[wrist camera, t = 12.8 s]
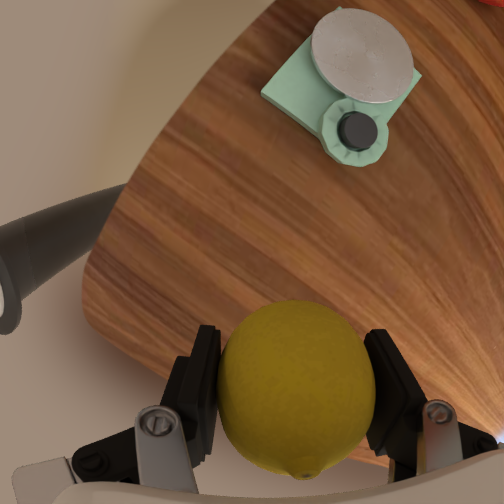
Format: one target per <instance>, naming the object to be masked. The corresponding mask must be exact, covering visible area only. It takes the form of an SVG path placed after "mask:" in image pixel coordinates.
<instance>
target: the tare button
mask: <svg viewBox="0 0 504 504" xmlns="http://www.w3.org/2000/svg"><path fill="white" fill-rule="evenodd" d="M339 134H340V137H341V139H342V141H343V142H344V143H345V144H346V145H348V146H349V147H352V148H367V147H370V146H371V145H373V144H374V143H375V141H376V139H377V136H378V129H377V125H376V123H375V122H374V120H373V119H372V118H371V117H370V116H368V115H366V114H364V113H355V114H352V115H349V116H347V117H345V118H344V119H343V120H342V121H341V123H340V126H339Z"/></svg>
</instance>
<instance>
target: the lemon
mask: <svg viewBox="0 0 504 504" xmlns="http://www.w3.org/2000/svg"><path fill="white" fill-rule="evenodd" d="M375 397H376V388H375V378H374V372H373V369H372V365H371V362H370V359H369V356H368V353H367V350H366V348H365V345H364V344H363V342H362V340H361V338H360V337H359V336H358V334H357V333H356V332H355V331H354V329H353V328H352V327H351V326H350V324H349V323H348V322H347V321H346V320H345V319H344V318H343V317H341V316H340V315H339V314H337V313H336V312H334V311H333V310H331V309H329V308H328V307H326V306H323V305H320V304H317V303H314V302H311V301H303V300H286V301H279V302H275V303H272V304H270V305H267V306H264V307H261V308H260V309H258V310H257V311H255V312H253V313H252V314H250V315H249V316H247V317H246V318H245V319H244V320H243V321H242V322H241V324H240V325H239V326H238V327H237V328H236V329H235V330H234V331H233V333H232V334H231V336H230V338H229V340H228V342H227V344H226V346H225V348H224V350H223V352H222V355H221V357H220V361H219V366H218V373H217V382H216V398H217V405H218V410H219V414H220V418H221V422H222V425H223V429H224V431H225V433H226V436H227V438H228V439H229V440H230V442H231V443H232V445H233V446H234V447H235V448H236V450H237V451H238V452H239V453H240V454H241V455H242V456H243V457H244V458H245V459H247V460H249V461H250V462H252V463H253V464H255V465H257V466H258V467H260V468H262V469H265V470H267V471H270V472H273V473H276V474H283V475H291V476H292V477H294V478H295V479H298V480H308V479H312V478H314V477H316V476H318V475H319V474H320V472H321V471H322V470H325V469H327V468H329V467H332V466H334V465H335V464H337V463H338V462H340V461H341V460H343V459H344V458H346V457H347V456H348V455H349V454H350V453H351V452H352V451H353V450H354V449H355V448H356V447H357V446H358V445H359V443H360V442H361V440H362V439H363V437H364V436H365V434H366V432H367V430H368V428H369V427H370V424H371V421H372V419H373V413H374V407H375Z"/></svg>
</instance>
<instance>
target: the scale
mask: <svg viewBox="0 0 504 504" xmlns="http://www.w3.org/2000/svg"><path fill="white" fill-rule="evenodd" d="M340 9H342V8H341V7H338V8H337V9H336V10H340ZM336 10H335V11H336ZM311 35H312V34H311ZM311 35H310V36H309V37H308V38H307V39H306V40H305V41H304V43H303V44H302V45H301V46H300V47H299V48H298V49H297V50H296V51H295V52H294V53H293V55H292V56H291V57H290V58H289V59H288V60H287V61H286V62H285V63H284V65H283V66H282V67H281V68H280V69H279V70H278V71H277V73H276V74H275V75H274V76H273V77H272V78H271V80H270V81H269V82H268V83H267V84H266V85H265V87H264V88H263V89H262V90H261V96H262V97H263V98H265V99H266V100H268V101H269V102H270V103H272V104H273V105H275V106H276V107H277V108H279V109H280V110H282V111H283V112H284V113H286V114H287V115H288V116H290V117H291V118H292V119H294V120H295V121H296V122H298V123H299V124H300V125H302V126H303V127H304V128H306V129H307V130H308V131H309V132H311V133H312V134H313V135H314V136H316V137H317V138H318V139H319V140H320V141H321V144H322V146H323V149H324V151H325V152H326V153H327V154H328V155H329V156H331V157H332V158H333V159H334V160H335V161H337V162H338V163H341V164H346V165H351V166H356V167H363V166H365V165H368V164H371V163H374V162H376V161H377V160H378V159H379V157H380V156H381V155H382V153H383V152H384V151H385V149H386V148H387V141H388V132H389V131H388V127H387V125H386V123H387V122H388V121H389V119H390V118H391V117H392V115H393V114H394V113H395V111H396V110H397V109H398V107H399V106H400V105H401V103H402V102H403V101H404V99H405V98H406V97H407V95H408V94H409V93H410V91H411V90H412V89H413V87H414V86H415V85H416V83H417V82H418V80H419V79H420V78H421V76H422V75H421V74H420V73H419V72H418V71H417V70H416V69H415V68H414V72H413V78H412V81H411V83H410V85H409V87H408V89H407V90H406V91H405V92H404V93H403V94H402V95H401V96H400V97H398V98H397V99H395V100H393V101H390V102H387V103H383V104H372V105H371V104H363V103H359V102H356V101H353V100H350V99H348V98H346V97H344V96H342V95H341V94H339V93H338V92H336V91H335V90H334V89H332V88H331V87H330V86H329V85H328V84H327V83H326V82H325V81H324V80H323V78H322V77H321V76H320V74H319V73H318V71H317V69H316V67H315V66H314V63H313V60H312V57H311V53H310V40H311ZM355 113H364V114H366V115H368V116H370V117H371V118H372V119H373V120H374V122H375V123H376V125H377V129H378V136H377V139H376V141H375V143H374V144H373V145H371V146H370V147H367V148H352V147H349V146H348V145H346V144H345V143H344V142H343V141H342V139H341V137H340V134H339V126H340V123H341V121H342V120H343V119H344V118H345V117H347V116H349V115H352V114H355Z"/></svg>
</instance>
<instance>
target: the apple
mask: <svg viewBox="0 0 504 504" xmlns="http://www.w3.org/2000/svg"><path fill="white" fill-rule="evenodd" d="M478 1H479V2H482V3H486V4H490V5H494V6H498V7H504V0H478Z"/></svg>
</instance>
